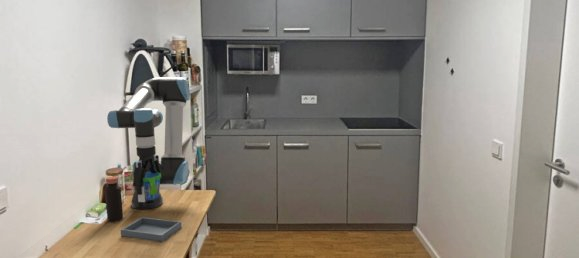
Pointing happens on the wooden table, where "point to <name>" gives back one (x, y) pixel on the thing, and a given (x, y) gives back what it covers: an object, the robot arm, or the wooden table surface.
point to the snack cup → (151, 185)
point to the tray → (151, 229)
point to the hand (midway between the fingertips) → (149, 197)
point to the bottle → (113, 200)
